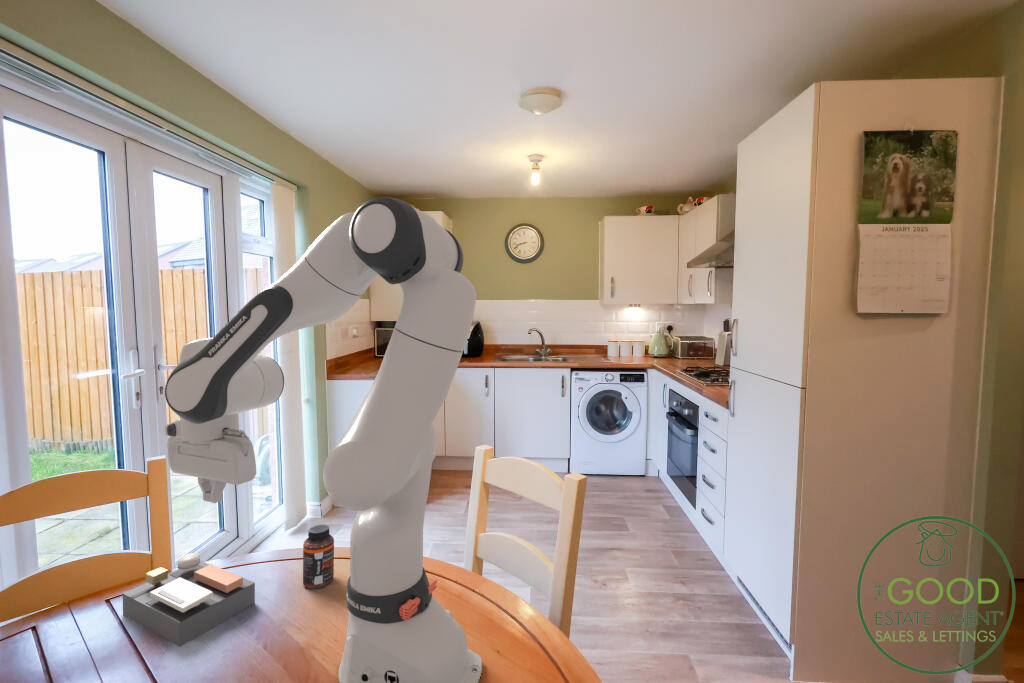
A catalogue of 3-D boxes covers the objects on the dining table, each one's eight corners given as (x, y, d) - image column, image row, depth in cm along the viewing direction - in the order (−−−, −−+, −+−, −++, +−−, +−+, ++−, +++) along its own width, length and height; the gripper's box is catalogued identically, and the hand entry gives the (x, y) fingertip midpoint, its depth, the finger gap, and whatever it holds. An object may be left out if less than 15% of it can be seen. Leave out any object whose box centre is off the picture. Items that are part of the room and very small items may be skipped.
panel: (255, 603, 84) (255, 582, 84) (179, 646, 73) (179, 622, 73) (199, 578, 92) (198, 559, 92) (122, 614, 81) (122, 592, 80)
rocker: (213, 598, 78) (212, 591, 78) (183, 615, 74) (182, 607, 74) (180, 583, 82) (180, 576, 82) (150, 598, 78) (149, 591, 78)
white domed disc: (204, 562, 89) (204, 555, 88) (184, 571, 85) (184, 564, 85) (193, 558, 90) (193, 551, 90) (173, 566, 87) (173, 559, 87)
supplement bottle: (326, 590, 89) (326, 535, 88) (297, 590, 89) (297, 534, 89) (338, 574, 95) (338, 522, 94) (311, 573, 95) (311, 521, 95)
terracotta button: (242, 584, 83) (242, 577, 83) (226, 593, 80) (226, 585, 80) (210, 571, 87) (210, 564, 87) (194, 578, 84) (194, 571, 84)
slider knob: (168, 583, 83) (167, 570, 83) (153, 589, 81) (153, 576, 81) (160, 579, 84) (160, 567, 84) (146, 586, 82) (146, 573, 82)
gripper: (264, 426, 79) (267, 503, 79) (195, 419, 88) (197, 488, 88) (229, 434, 73) (232, 516, 74) (159, 425, 82) (162, 499, 82)
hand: (213, 501), depth 81 cm, fingers closed
